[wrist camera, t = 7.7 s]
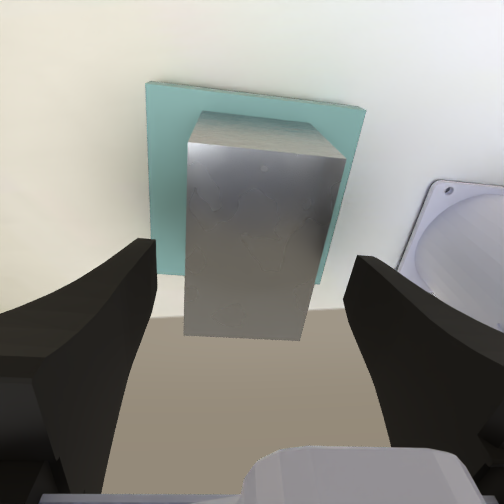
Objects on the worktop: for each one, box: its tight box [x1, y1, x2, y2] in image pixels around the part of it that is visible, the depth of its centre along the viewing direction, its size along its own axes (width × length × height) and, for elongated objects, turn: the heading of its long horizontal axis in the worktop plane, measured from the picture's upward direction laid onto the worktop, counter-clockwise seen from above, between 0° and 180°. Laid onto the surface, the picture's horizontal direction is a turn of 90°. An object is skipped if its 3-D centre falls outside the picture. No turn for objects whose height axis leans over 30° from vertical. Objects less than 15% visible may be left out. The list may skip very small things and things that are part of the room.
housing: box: [184, 110, 347, 341], centre depth 15 cm, size 9×5×6 cm, turn 173°
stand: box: [145, 81, 366, 284], centre depth 19 cm, size 10×10×2 cm
